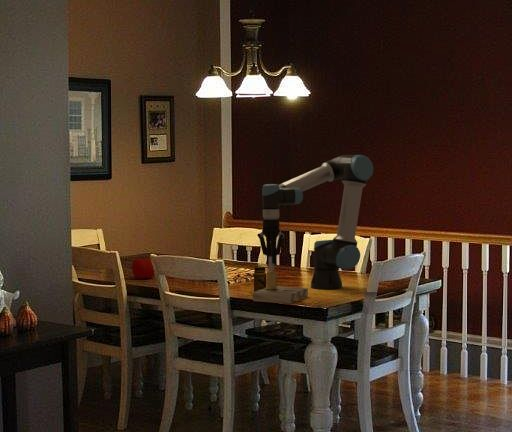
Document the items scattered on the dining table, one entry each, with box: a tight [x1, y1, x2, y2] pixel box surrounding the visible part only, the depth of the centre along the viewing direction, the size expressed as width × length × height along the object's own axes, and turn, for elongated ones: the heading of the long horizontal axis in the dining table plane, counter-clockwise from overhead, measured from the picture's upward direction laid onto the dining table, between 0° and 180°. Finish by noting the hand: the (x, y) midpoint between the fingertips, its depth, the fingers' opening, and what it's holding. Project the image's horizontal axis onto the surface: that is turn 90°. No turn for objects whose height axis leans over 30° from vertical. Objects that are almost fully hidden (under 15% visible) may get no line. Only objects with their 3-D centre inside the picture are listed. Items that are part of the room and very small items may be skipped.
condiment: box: [250, 266, 267, 292], centre depth 468 cm, size 7×8×12 cm
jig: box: [252, 285, 309, 305], centre depth 448 cm, size 20×18×4 cm
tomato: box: [131, 256, 155, 280], centre depth 519 cm, size 12×13×12 cm
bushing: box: [266, 271, 278, 291], centre depth 449 cm, size 4×4×12 cm
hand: (271, 270), depth 449 cm, fingers closed
